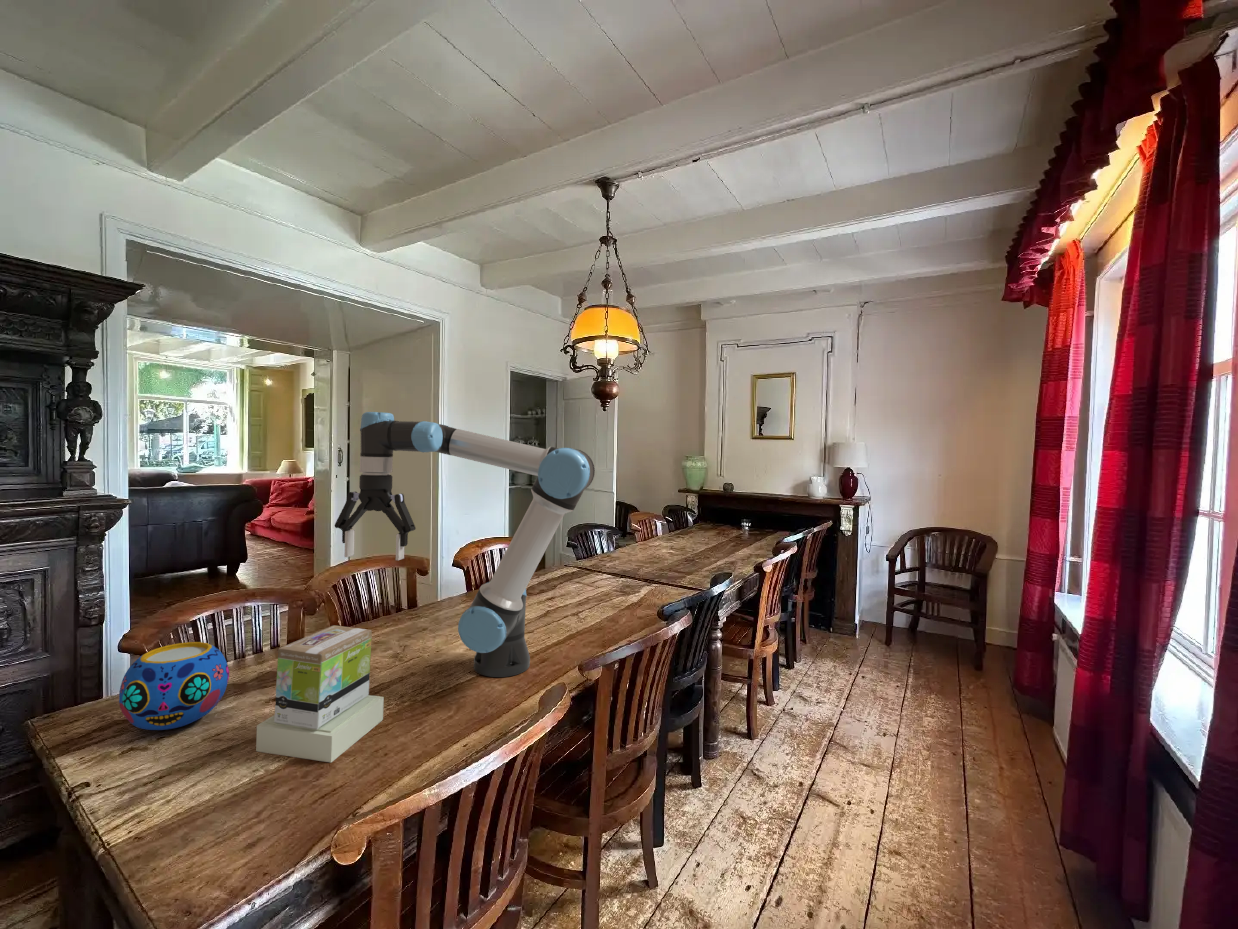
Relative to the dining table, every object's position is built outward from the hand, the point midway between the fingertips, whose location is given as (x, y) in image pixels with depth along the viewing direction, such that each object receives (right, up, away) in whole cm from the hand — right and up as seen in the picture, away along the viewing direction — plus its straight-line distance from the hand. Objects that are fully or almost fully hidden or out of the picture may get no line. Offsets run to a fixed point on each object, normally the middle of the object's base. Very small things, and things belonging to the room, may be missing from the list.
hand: (374, 557), depth 132 cm
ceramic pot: (-31, -31, -23) cm, 49 cm away
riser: (+1, -32, -25) cm, 40 cm away
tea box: (+2, -27, -25) cm, 37 cm away
